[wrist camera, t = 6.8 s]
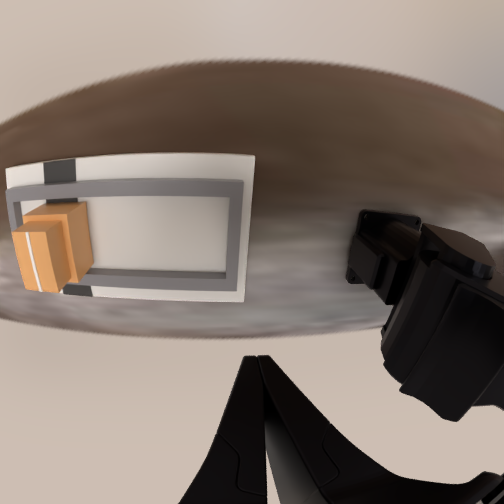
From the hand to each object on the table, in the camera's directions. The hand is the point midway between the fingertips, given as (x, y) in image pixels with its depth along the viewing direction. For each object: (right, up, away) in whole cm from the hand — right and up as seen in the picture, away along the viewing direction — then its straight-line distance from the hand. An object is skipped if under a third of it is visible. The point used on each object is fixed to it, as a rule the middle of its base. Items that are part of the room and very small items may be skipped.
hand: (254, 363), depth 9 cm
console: (-10, +6, +10) cm, 16 cm away
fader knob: (-14, +5, +9) cm, 17 cm away
